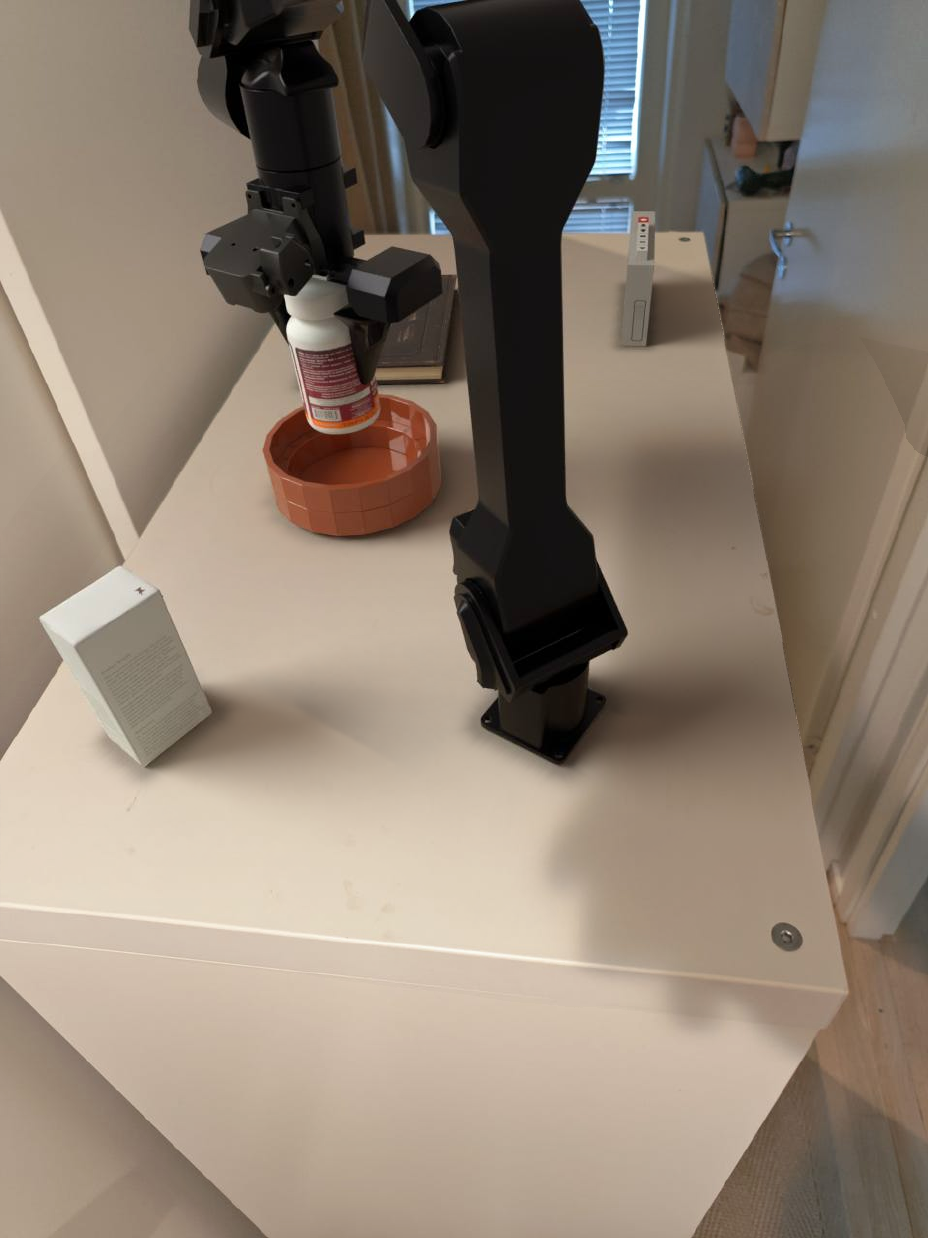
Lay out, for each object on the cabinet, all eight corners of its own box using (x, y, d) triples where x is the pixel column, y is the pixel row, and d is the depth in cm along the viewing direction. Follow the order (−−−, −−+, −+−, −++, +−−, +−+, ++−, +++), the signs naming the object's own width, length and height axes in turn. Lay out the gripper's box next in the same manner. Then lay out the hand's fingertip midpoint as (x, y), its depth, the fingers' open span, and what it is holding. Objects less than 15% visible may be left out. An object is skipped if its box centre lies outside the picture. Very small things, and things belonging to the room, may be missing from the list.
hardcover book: (457, 292, 107) (456, 273, 106) (444, 383, 91) (443, 363, 89) (333, 295, 109) (330, 278, 107) (298, 386, 92) (294, 367, 91)
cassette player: (625, 286, 106) (632, 202, 99) (647, 286, 105) (656, 202, 98) (621, 345, 95) (628, 255, 88) (645, 346, 95) (655, 255, 88)
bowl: (371, 562, 70) (362, 509, 67) (242, 506, 77) (226, 455, 73) (473, 471, 79) (470, 419, 75) (349, 427, 86) (340, 378, 82)
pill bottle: (394, 419, 69) (374, 282, 61) (328, 446, 67) (298, 308, 59) (359, 390, 73) (335, 258, 65) (295, 415, 71) (262, 281, 63)
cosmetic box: (177, 686, 62) (122, 561, 53) (214, 714, 60) (162, 588, 51) (106, 740, 58) (35, 616, 50) (142, 771, 56) (74, 647, 48)
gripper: (112, 176, 56) (180, 389, 67) (324, 221, 48) (362, 455, 59) (233, 130, 62) (277, 331, 73) (438, 163, 54) (453, 384, 65)
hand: (335, 372), depth 67 cm, fingers closed on pill bottle, 6 cm apart
